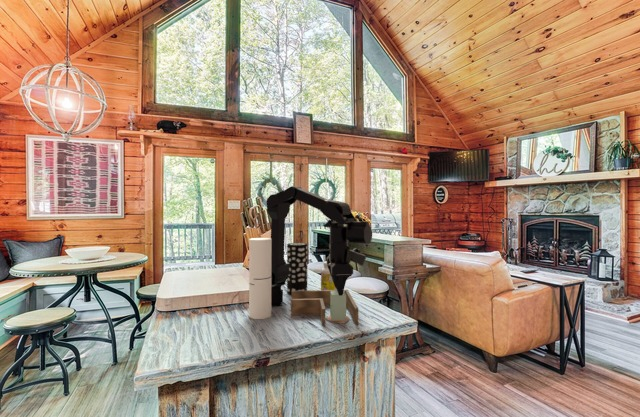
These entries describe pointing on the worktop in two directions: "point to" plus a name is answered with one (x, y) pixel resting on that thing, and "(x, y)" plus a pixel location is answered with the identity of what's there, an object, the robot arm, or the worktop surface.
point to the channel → (320, 304)
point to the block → (337, 306)
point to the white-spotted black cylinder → (297, 267)
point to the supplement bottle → (326, 278)
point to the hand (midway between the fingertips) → (338, 291)
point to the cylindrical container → (260, 278)
